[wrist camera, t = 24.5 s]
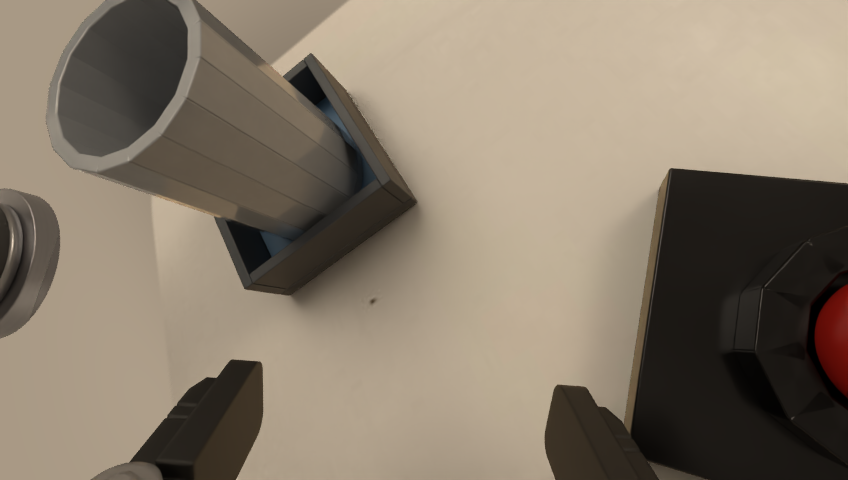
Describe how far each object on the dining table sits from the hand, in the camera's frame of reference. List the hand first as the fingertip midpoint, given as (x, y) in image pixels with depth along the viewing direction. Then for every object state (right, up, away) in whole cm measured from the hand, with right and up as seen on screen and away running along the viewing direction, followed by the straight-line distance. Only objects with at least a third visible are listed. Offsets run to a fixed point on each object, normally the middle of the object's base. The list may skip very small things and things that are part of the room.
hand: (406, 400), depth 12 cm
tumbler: (-5, +7, +10) cm, 14 cm away
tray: (-5, +7, +11) cm, 14 cm away
